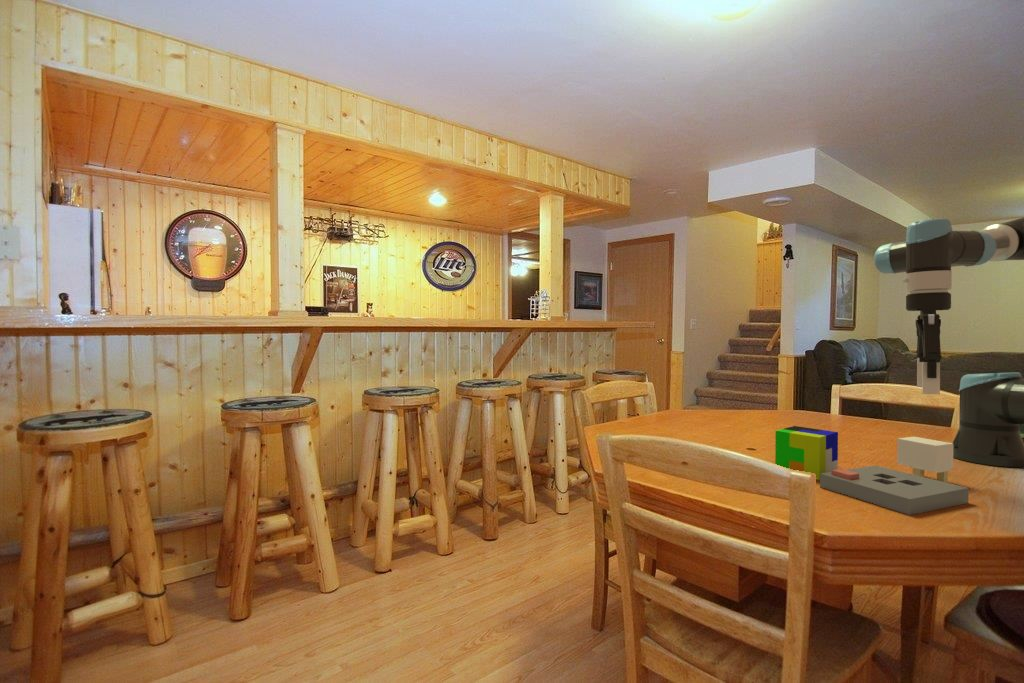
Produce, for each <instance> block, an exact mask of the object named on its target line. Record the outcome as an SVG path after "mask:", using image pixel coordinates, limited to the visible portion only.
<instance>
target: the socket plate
mask: <svg viewBox="0 0 1024 683" xmlns="http://www.w3.org/2000/svg"><path fill="white" fill-rule="evenodd" d="M819 487H820V488H821V487H822V489H824V488H825V490H828V491H831V492H834V493H837V494H840V493H841V494H840V495H844V494H845V495H844V496H847V495H848V496H847V497H850V496H851V498H853V497H854V498H853V499H856V498H858V499H857V500H859V499H860V500H859V501H863V500H864V501H863V502H866V501H867V502H866V503H869V502H870V504H872V503H873V505H875V504H876V506H879V507H883V508H885V509H889V510H892V511H895V512H897V513H901V514H904V515H908V516H912V515H917V514H922V513H927V512H931V511H936V510H940V509H946V508H950V507H956V506H959V505H960V506H961V505H964V504H965V505H966V504H969V493H970V492H969V489H970V488H969V487H967V486H962V485H958V484H954V483H949V482H948V483H946V482H942V481H938V480H937V479H933V478H929V477H925V476H924V477H921V476H917V475H913V473H908V472H904V471H900V470H895V469H892V468H888V467H884V466H879V465H870V466H862V467H856V468H850V469H849V468H848V469H844V468H838V469H836V470H831V472H828V473H821V474H820V480H819Z"/></svg>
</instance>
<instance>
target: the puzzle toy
mask: <svg viewBox="0 0 1024 683" xmlns="http://www.w3.org/2000/svg"><path fill="white" fill-rule="evenodd" d="M774 447H775V449H774V450H775V452H774V453H775V456H774V457H775V464H777V465H780V466H783V467H786V468H790V469H793V470H799V471H805V472H811V473H815V474H816V478H817V480H816V481H820V474H821V473H828V472H831V470H836V469H839V466H838V464H839V463H838V462H839V460H838V459H839V432H838V431H832V430H825V429H819V428H812V427H804V426H798V425H793V426H789V427H786V428H785V427H784V428H781V429H777V430H775V446H774Z"/></svg>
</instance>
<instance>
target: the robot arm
mask: <svg viewBox="0 0 1024 683" xmlns="http://www.w3.org/2000/svg"><path fill="white" fill-rule="evenodd" d="M906 227H907V228H906V235H905V236H906V238H905V240H903V241H898V242H890V243H888V244H887V243H886V244H883V245H880V246H879V247H878V248H877V249H876V251H875V252H874V256H873V259H874V266H875V268H876V270H877V271H878V272H880V273H882V274H887V275H888V274H900V273H906V276H905V277H904V278H903V279H902V282H903V283H906V285H905V286H906V287H905V288H906V292H909V294H907V295H906V296H905V310H906V311H908V312H920V313H919V314H918V315H917V319H915V327H916V331H915V332H916V337H917V340H916V342H917V343H916V351H915V354H916V357H917V359H916V361H917V362H916V364H917V365H916V386H917V388H918V387H919V388H922V390H921V392H922V395H924V394H925V395H940V394H941V360H942V353H941V352H942V350H941V325H942V319H941V316H940V314H939V313H937V311H950V309H951V308H952V293H951V292H948V291H950V290H951V289H952V281H953V280H952V276H953V275H952V267H975V266H981V265H983V264H986V263H987V262H1001V261H1024V216H1023V217H1020V218H1017V219H1014V220H1010V221H1007V222H1001V223H996V224H991V225H988V226H986V227H984V228H983V229H981V230H953V227H952V221H951V220H950V219H948V218H945V217H944V218H942V217H940V218H929V219H921V220H916V221H913V222H911V223H909V224H908V225H907V226H906ZM958 392H959V410H958V411H959V428H958V430H957V432H956V435H955V437H954V439H953V441H952V443H953V459H954V458H955V459H958V460H960V461H965V462H969V463H974V464H980V465H987V466H988V465H989V466H994V467H1006V468H1007V467H1009V468H1022V467H1023V468H1024V440H1023V437H1022V435H1021V426H1024V378H1023V376H1022V374H1021V373H1020V372H1018V371H1017V372H1016V371H1015V372H1013V371H1012V372H992V373H991V372H990V373H986V372H985V373H968V374H965V375H962V376H961V378H960V382H959V389H958Z"/></svg>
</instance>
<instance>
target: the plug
mask: <svg viewBox="0 0 1024 683" xmlns="http://www.w3.org/2000/svg"><path fill="white" fill-rule="evenodd" d="M896 440H897V445H896V446H897V447H896V448H897V452H896V453H897V454H896V455H897V456H896V460H897V461H896V464H897V465H901V466H905V467H908V468H912V474H913V475H917V476H921V477H925V471H926V472H931V473H935V474H936V480H938V481H942V482H946V483H949V471H954V457H953V442H949V441H948V442H947V441H941V440H935V439H930V438H925V437H918V436H907V437H901V438H900V437H899V438H897V439H896Z"/></svg>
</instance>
